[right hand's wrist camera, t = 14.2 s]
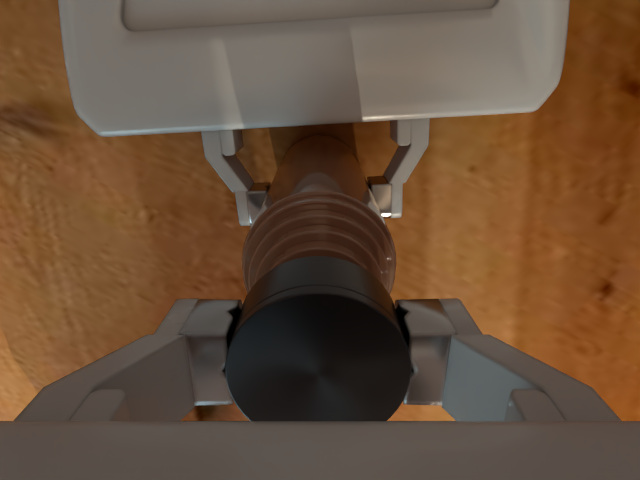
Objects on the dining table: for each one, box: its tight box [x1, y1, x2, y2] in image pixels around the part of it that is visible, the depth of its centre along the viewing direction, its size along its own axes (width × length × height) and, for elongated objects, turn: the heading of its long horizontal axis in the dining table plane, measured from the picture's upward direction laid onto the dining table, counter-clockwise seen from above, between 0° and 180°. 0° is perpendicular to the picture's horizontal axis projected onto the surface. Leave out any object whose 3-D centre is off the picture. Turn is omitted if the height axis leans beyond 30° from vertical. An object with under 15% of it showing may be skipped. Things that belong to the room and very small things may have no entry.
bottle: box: [242, 135, 396, 295], centre depth 17 cm, size 5×5×18 cm
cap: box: [225, 256, 411, 421], centre depth 9 cm, size 4×4×2 cm
